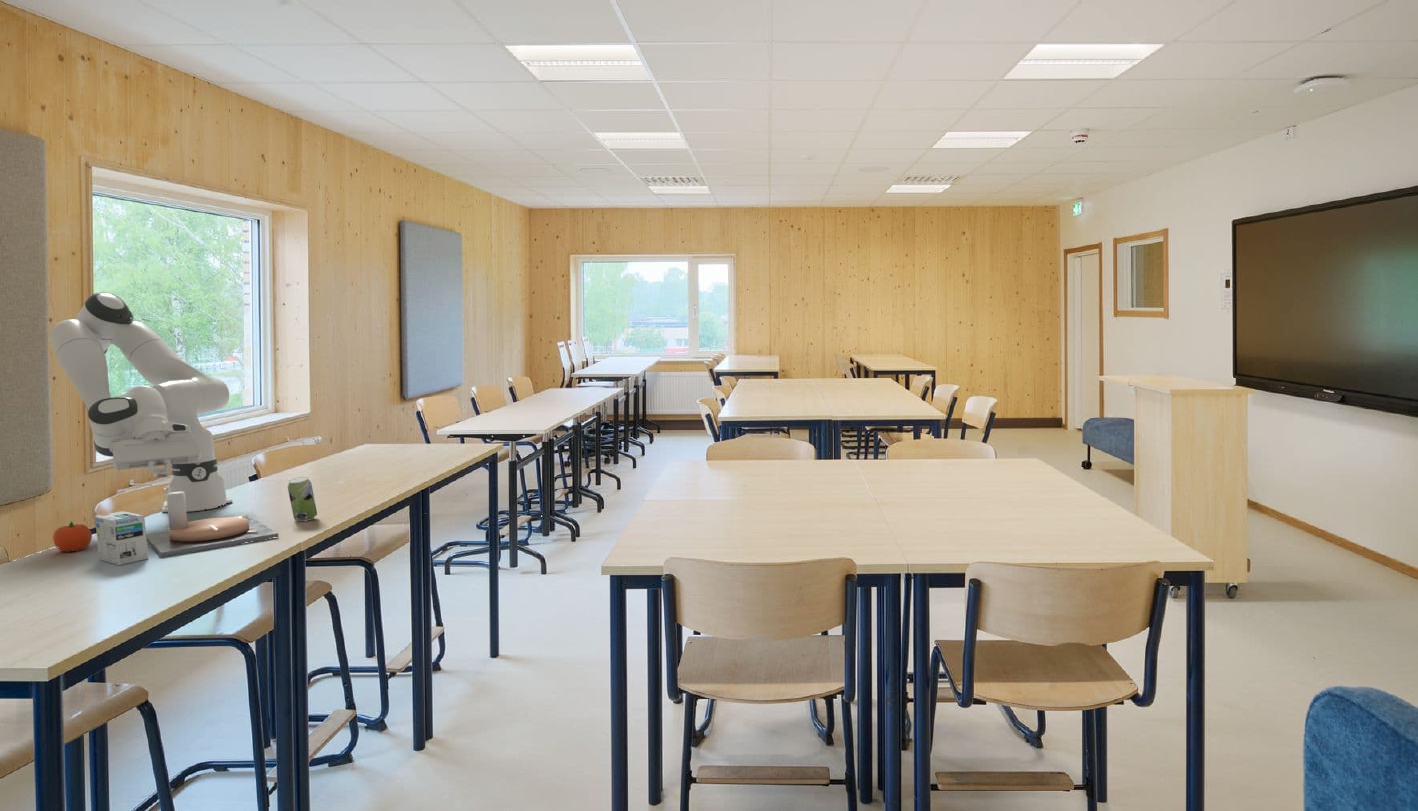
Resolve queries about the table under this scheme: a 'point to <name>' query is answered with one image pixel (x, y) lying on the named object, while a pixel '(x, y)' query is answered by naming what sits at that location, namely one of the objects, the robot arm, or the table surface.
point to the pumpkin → (72, 537)
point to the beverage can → (302, 499)
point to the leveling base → (171, 547)
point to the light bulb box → (121, 537)
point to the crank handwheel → (199, 523)
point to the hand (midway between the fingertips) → (161, 476)
